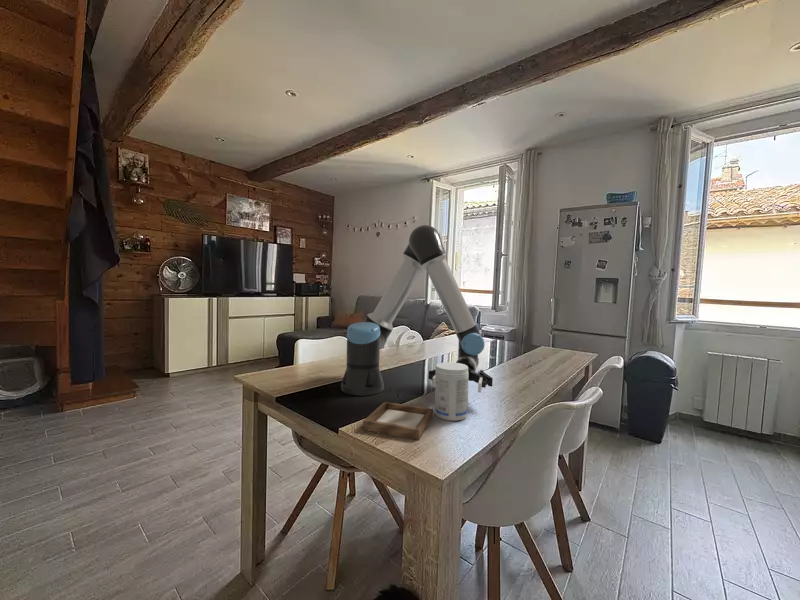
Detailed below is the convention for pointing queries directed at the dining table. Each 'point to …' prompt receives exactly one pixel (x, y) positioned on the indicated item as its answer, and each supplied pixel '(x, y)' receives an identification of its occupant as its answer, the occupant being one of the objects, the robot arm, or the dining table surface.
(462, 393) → the supplement tub
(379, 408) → the holder tray
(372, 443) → the dining table surface
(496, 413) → the dining table surface
